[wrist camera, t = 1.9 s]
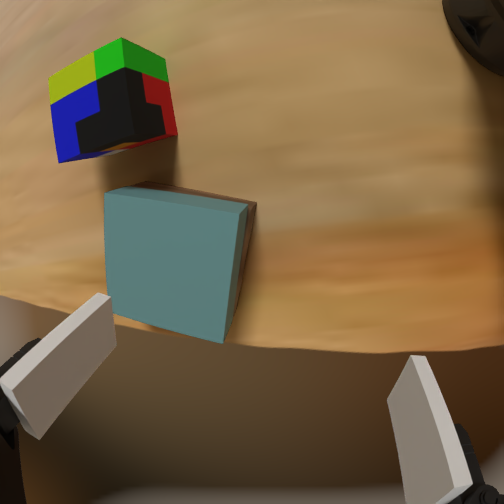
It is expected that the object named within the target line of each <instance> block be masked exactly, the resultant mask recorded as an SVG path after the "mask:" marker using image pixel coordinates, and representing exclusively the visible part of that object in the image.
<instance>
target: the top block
mask: <svg viewBox="0 0 504 504" xmlns="http://www.w3.org/2000/svg"><path fill="white" fill-rule="evenodd" d="M247 211H248V204H244V203H239V202H233V201H227V200H221V199H214V198H208V197H202V196H195V195H189V194H182V193H175V192H168V191H161V190H154V189H147V188H139V187H132V186H125V187H122V188H119V189H115V190H112V191H109V192H106V193H104V240H105V265H106V281H107V293H108V296H111V300H112V310H113V313H114V314H117V315H120V316H124V317H127V318H130V319H133V320H136V321H140V322H143V323H146V324H150V325H153V326H156V327H160V328H163V329H167V330H170V331H174V332H178V333H181V334H185V335H189V336H193V337H197V338H200V339H204V340H208V341H213V342H217V343H221V344H223V342H224V340H225V338H226V335H227V333H228V330H229V328H230V326H231V323H232V319H233V312H234V304H235V297H236V290H237V282H238V275H239V268H240V261H241V254H242V247H243V239H244V232H245V225H246V218H247Z"/></svg>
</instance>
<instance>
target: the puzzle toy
mask: <svg viewBox="0 0 504 504" xmlns="http://www.w3.org/2000/svg"><path fill="white" fill-rule="evenodd" d="M48 80H49V94H50V105H51V115H52V123H53V131H54V138H55V144H56V151H57V156H58V162H59V163H64V162H70V161H76V160H82V159H88V158H95V157H102V156H110V155H113V154H116V153H119V152H122V151H125V150H128V149H131V148H134V147H137V146H140V145H144V144H147V143H150V142H154V141H157V140H160V139H164V138H168V137H171V136H175V135H178V133H177V127H176V122H175V116H174V110H173V105H172V99H171V93H170V87H169V81H168V75H167V68H166V62H165V59H164V58H162V57H160V56H158V55H157V54H155V53H153V52H151V51H149V50H147V49H145V48H143V47H141V46H139V45H136V44H134V43H132V42H130V41H128V40H126V39H124V38H122V37H121V38H119V39H117V40H115V41H113V42H111V43H109V44H107V45H105V46H103V47H101V48H99V49H97V50H95V51H93V52H91V53H90V54H88V55H86V56H84V57H82V58H81V59H79V60H77V61H75V62H74V63H72V64H70V65H69V66H67V67H65V68H64V69H62V70H60V71H59V72H57V73H56V74H54V75H53V76H51V77H49V78H48Z"/></svg>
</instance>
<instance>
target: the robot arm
mask: <svg viewBox="0 0 504 504" xmlns="http://www.w3.org/2000/svg"><path fill="white" fill-rule="evenodd" d="M443 8H444V12H445V15H446V18H447V20H448V22H449V25H450V27H451V28H452V30H453V32H454V34H455V35H456V37H457V38H458V40H459V41H460V42H461V44H462V45H463V46H464V48H465V49H466V50H467V51H468V52H469V53H470V54H471V55H472V56H473V57H474V58H475V59H476V60H477V61H478V62H479V63H480V64H482V65H483V66H484V67H486V68H487V69H489V70H491V71H492V72H494V73H496V74H499V75H502V76H504V0H443ZM116 345H117V343H116V335H115V328H114V319H113V310H112V300H111V296H107V295H104V294H101V293H97V294H95V295H94V296H93V297H92V298H90V299H89V300H88V301H87V302H86V303H84V304H83V305H82V306H81V307H80V308H78V309H77V310H76V311H75V312H74V313H72V314H71V315H70V316H69V317H68V318H67V319H65V320H64V321H63V322H62V323H61V324H59V325H58V326H57V327H56V328H55V329H54V330H52V331H51V332H50V333H49V334H48V335H47V336H46V337H44V338H43V339H40V338H37V339H35V340H33V341H31V342H28V343H27V344H26V345H24V347H22V348H21V349H20V351H18V352H17V353H15V354H14V355H13V357H11V358H10V359H9V360H8V361H6V362H5V363H4V364H3V365H2V366H1V367H0V504H27V503H26V497H25V492H24V486H23V479H22V470H21V461H20V452H19V434H18V428H17V426H16V425H17V424H18V423H19V422H21V424H22V426H23V427H24V429H25V431H27V432H28V433H30V434H31V435H33V436H34V437H36V438H37V439H39V440H40V438H41V437H42V436H43V434H44V433H45V432H46V431H47V429H48V428H49V427H50V426H51V424H52V423H53V422H54V421H55V419H56V418H57V417H58V416H59V414H60V413H61V412H62V411H63V409H64V408H65V407H66V406H67V404H68V403H69V402H70V400H71V399H72V398H73V397H74V396H75V394H76V393H77V392H78V391H79V389H80V388H81V387H82V386H83V385H84V383H85V382H86V381H87V380H88V379H89V377H90V376H91V375H92V374H93V373H94V371H95V370H96V369H97V368H98V367H99V365H100V364H101V363H102V362H103V361H104V360H105V358H106V357H107V356H108V355H109V353H110V352H111V351H112V350H113V349H114V348H115V347H116ZM387 402H388V406H389V411H390V415H391V420H392V425H393V430H394V435H395V440H396V445H397V449H398V455H399V461H400V467H401V473H402V478H403V485H404V493H405V500H406V504H504V495H502V494H499V492H498V491H497V489H496V488H494V487H493V486H490V485H486V484H485V482H484V480H483V476H482V473H481V470H480V467H479V464H478V461H477V458H476V455H475V454H474V449H473V446H472V445H471V441H470V439H469V436H468V433H467V432H466V430H465V429H464V428H463V427H462V426H461V424H453V422H452V419H451V417H450V414H449V411H448V409H447V406H446V404H445V401H444V399H443V396H442V394H441V391H440V389H439V387H438V384H437V382H436V380H435V377H434V375H433V373H432V371H431V368H430V366H429V364H428V361H427V359H426V357H425V356H415V355H410V358H409V359H408V361H407V363H406V366H405V367H404V369H403V371H402V373H401V375H400V377H399V379H398V381H397V383H396V384H395V386H394V388H393V390H392V392H391V393H390V395H389V397H388V399H387Z"/></svg>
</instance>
